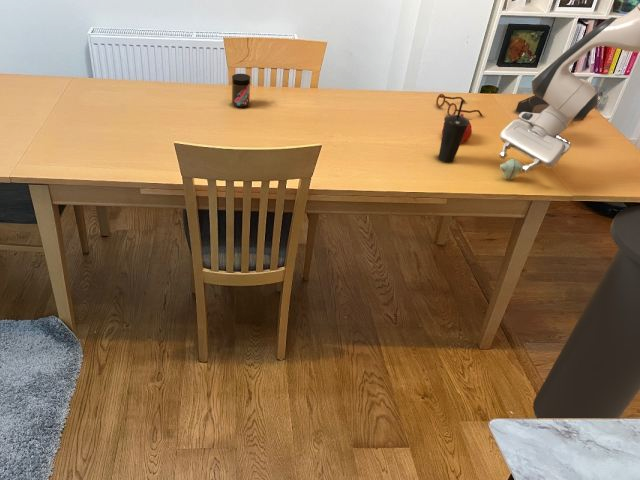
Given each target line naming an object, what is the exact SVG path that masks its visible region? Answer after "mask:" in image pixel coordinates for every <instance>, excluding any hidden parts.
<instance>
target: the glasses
mask: <svg viewBox="0 0 640 480" xmlns="http://www.w3.org/2000/svg"><path fill="white" fill-rule="evenodd" d="M439 98H441V99H443V100H442V103H441V104H439ZM446 99H448V100H458V99H459V100H464V101H463V103H466V101H465V99H464V98H463V97H462V96H454V97H453V96H446V95H444V94H443V93H440V94H439V95H438V96H437V98H436V101H435V104H436V106H437V108H442V107H443V106H444V104H447V106H448V107H447V112H446V113H447V116H448V115H456V113H457V112H458V111H459V108H458V107H457V104H456V103H455V102H451V103H450V102H449V101H448V100H446ZM452 106H453V107H454V110H453V113H452V114H450V110H451V109H450V108H451V107H452ZM460 113H467V114H471V113H478V114H479V115H480V117H483V114H482V112H481V111H480V109H472V110H465V109H461V112H460Z"/></svg>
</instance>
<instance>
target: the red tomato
mask: <svg viewBox="0 0 640 480" xmlns="http://www.w3.org/2000/svg"><path fill="white" fill-rule="evenodd" d="M460 115H461V116H463V117H464V113H460ZM468 120H469V125H468V126H467V128H466V131H465V133H464V136H463V138H462V141H461V143H464V142H466V141H468V140H469V139H470V138H471V136H472V133H473V129H472V124H471V123H470V120H471V121H472V120H473V119H472V118H468ZM444 123H445V121H444V122H443V126H442V130H441V136H442V135H443V129H444Z"/></svg>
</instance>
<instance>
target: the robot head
mask: <svg viewBox="0 0 640 480" xmlns="http://www.w3.org/2000/svg"><path fill="white" fill-rule="evenodd" d="M524 166H525V164H522V163H521V162H519V161H518V159H516V158H510V159H507V161H505V162H504V163H500V165H499V169H500V171H501V173H502V176H503V177H504V179H505V180H507V181H509V180H512V179H514V178H515V177H516V176H517V175H518V174H519V173H521V172H524V171H523V170H522V168H523V167H524Z"/></svg>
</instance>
